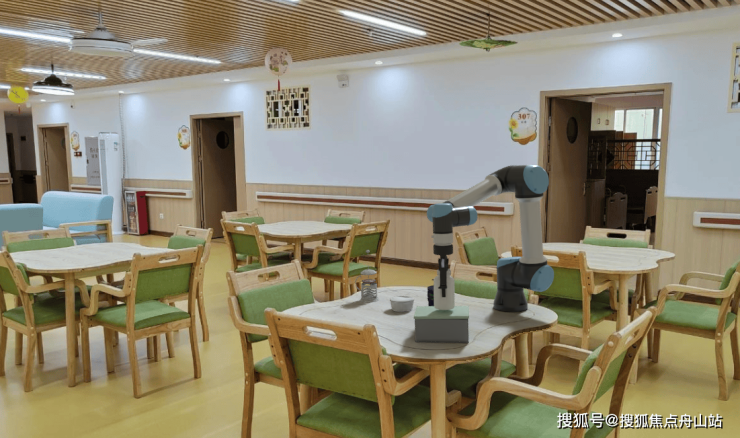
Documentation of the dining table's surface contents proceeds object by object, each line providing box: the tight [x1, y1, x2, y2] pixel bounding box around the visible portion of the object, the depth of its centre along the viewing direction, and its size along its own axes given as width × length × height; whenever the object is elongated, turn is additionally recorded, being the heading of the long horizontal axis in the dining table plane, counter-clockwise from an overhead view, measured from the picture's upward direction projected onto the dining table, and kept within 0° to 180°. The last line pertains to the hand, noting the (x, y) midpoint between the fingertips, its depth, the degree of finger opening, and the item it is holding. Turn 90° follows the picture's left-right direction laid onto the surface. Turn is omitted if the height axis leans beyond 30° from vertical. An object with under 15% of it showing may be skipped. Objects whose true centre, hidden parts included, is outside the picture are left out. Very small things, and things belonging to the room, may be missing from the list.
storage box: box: [414, 319, 470, 344], centre depth 227 cm, size 20×14×9 cm
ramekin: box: [389, 295, 415, 313], centre depth 269 cm, size 11×11×5 cm
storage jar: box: [426, 278, 434, 306], centre depth 246 cm, size 10×10×18 cm
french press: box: [354, 249, 380, 303], centre depth 288 cm, size 10×12×25 cm
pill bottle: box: [433, 268, 456, 310], centre depth 225 cm, size 8×8×15 cm
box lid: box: [413, 305, 470, 320], centre depth 226 cm, size 21×15×1 cm
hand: (444, 302), depth 226 cm, fingers closed on pill bottle, 8 cm apart
